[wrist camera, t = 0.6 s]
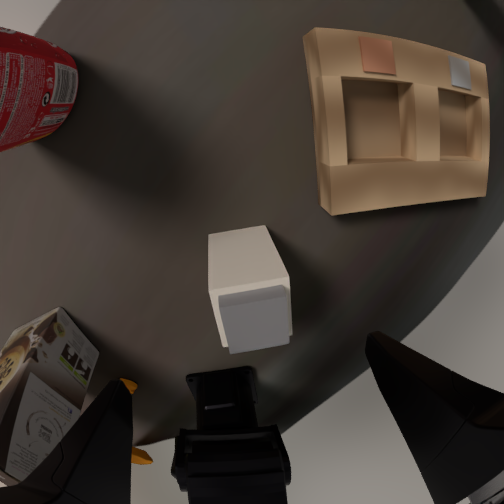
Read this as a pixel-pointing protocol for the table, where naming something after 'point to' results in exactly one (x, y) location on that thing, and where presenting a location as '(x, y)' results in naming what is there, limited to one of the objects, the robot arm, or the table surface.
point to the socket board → (395, 121)
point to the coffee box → (41, 390)
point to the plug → (249, 290)
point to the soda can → (33, 88)
